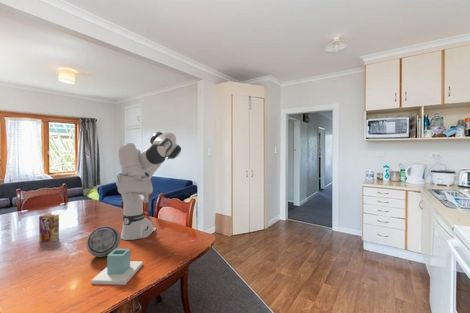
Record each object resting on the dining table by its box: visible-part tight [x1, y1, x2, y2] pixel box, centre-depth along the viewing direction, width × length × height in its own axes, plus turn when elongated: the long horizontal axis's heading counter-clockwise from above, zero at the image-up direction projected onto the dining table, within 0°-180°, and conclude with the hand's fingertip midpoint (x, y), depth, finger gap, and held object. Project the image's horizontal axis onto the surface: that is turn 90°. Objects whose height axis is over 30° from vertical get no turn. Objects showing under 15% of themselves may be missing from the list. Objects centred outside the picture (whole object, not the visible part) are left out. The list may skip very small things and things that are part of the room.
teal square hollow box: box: [106, 248, 131, 274], centre depth 98 cm, size 7×7×8 cm
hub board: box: [90, 260, 144, 286], centre depth 98 cm, size 16×14×2 cm
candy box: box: [38, 214, 60, 243], centre depth 133 cm, size 9×4×15 cm, turn 89°
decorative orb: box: [86, 225, 121, 258], centre depth 115 cm, size 15×14×15 cm
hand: (139, 202), depth 103 cm, fingers open, 8 cm apart
